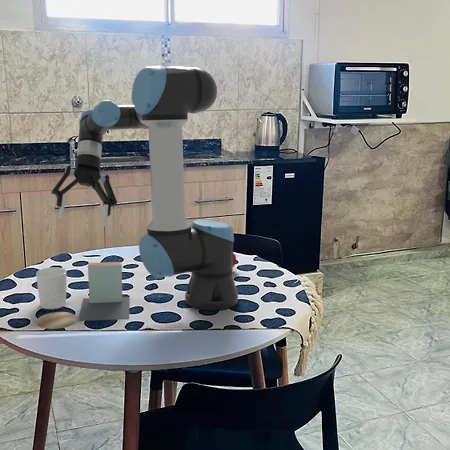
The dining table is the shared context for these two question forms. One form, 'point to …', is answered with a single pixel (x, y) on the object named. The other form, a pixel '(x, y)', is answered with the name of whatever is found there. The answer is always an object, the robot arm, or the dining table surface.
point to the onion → (234, 259)
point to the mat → (104, 310)
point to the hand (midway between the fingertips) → (82, 221)
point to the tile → (105, 282)
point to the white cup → (52, 287)
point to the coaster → (56, 320)
